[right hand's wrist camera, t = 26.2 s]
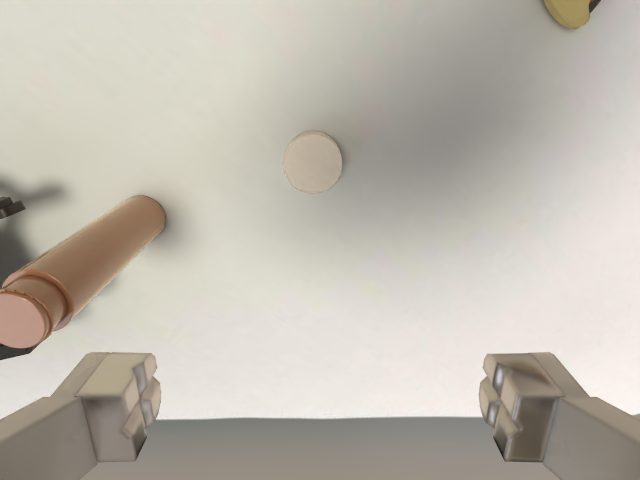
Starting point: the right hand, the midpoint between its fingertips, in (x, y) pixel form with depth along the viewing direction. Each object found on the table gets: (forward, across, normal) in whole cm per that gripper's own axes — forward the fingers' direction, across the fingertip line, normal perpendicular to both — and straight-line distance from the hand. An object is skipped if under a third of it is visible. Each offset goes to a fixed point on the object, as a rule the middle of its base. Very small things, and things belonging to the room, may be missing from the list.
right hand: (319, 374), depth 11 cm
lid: (+27, +1, 0) cm, 27 cm away
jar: (+29, +16, +5) cm, 33 cm away
